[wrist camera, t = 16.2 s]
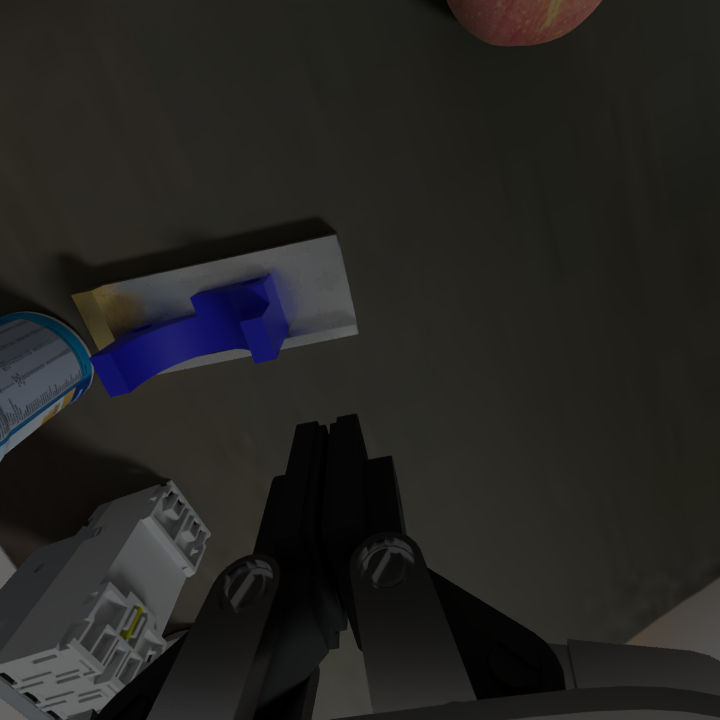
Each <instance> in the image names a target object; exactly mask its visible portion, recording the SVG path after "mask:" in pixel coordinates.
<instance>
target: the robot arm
mask: <svg viewBox="0 0 720 720" xmlns="http://www.w3.org/2000/svg"><path fill="white" fill-rule="evenodd" d="M348 619H349V622H350V625H351V628H352V631H353V634H354V637H355V640H356V643H357V646H358V648H359V649H360V650H361V651H362V652H363V657H364V663H365V669H366V675H367V681H368V687H369V693H370V699H371V706H372V712H373V714H368V715H361V716H353V717H346V718H339V719H331V720H720V661H719V660H717V659H715V658H713V657H711V656H709V655H706V654H701V653H698V652H694V651H689V650H679V649H668V648H658V647H646V646H636V645H626V644H615V643H605V642H594V641H584V640H573V639H567V645H561V644H551V643H546V642H545V641H544V640H542V639H541V638H540V637H539V636H537V635H536V634H535V633H534V632H532V631H530V630H529V629H527V628H525V627H524V626H522V625H521V624H519V623H517V622H516V621H514V620H512V619H511V618H509V617H507V616H506V615H504V614H503V613H501V612H499V611H498V610H496V609H494V608H493V607H491V606H489V605H488V604H486V603H485V602H483V601H481V600H480V599H478V598H476V597H475V596H473V595H471V594H470V593H468V592H467V591H465V590H463V589H462V588H460V587H458V586H457V585H455V584H453V583H452V582H450V581H449V580H447V579H445V578H444V577H442V576H440V575H439V574H437V573H435V572H434V571H432V570H431V569H429V568H427V566H426V563H425V560H424V558H423V555H422V552H421V550H420V548H419V547H418V545H417V543H416V542H415V541H413V540H412V539H411V538H410V537H409V536H407V534H406V528H405V521H404V515H403V508H402V502H401V497H400V491H399V486H398V481H397V476H396V472H395V467H394V463H393V458H392V456H386V457H381V458H375V459H370V460H368V456H367V451H366V447H365V443H364V439H363V435H362V431H361V427H360V423H359V419H358V416H357V414H351V415H346V416H341V417H337V422H336V423H332V424H330V433H329V434H328V430H327V427H326V425H321V426H319V424H318V422H317V421H314V422H309V423H304V424H298V425H297V426H296V430H295V435H294V439H293V443H292V448H291V452H290V457H289V461H288V465H287V470H286V474H285V475H281V476H276V477H275V478H274V479H273V481H272V484H271V488H270V491H269V495H268V499H267V503H266V506H265V510H264V514H263V518H262V521H261V525H260V529H259V533H258V537H257V540H256V544H255V548H254V552H253V554H252V555H247V556H245V557H242V558H240V559H238V560H236V561H235V562H233V563H232V564H230V565H229V566H227V567H226V568H225V569H224V570H223V571H222V572H221V573H220V574H219V576H218V577H217V579H216V580H215V582H214V583H213V585H212V587H211V589H210V591H209V593H208V595H207V597H206V599H205V601H204V603H203V605H202V607H201V609H200V611H199V613H198V615H197V617H196V619H195V621H194V623H193V625H192V627H191V629H190V630H183V631H180V632H176V633H174V634H172V635H169V636H167V637H166V638H164V640H165V641H166V642H167V646H166V648H165V651H164V653H163V654H161V655H160V656H159V657H158V658H157V659H156V660H155V661H153V659H154V657H155V655H156V653H155V654H153V655H152V657H151V660H150V662H152V661H153V662H152V663H151V664H150V665H149V666H148V667H147V668H145V669H144V670H143V671H142V672H141V673H140V674H139V675H137V676H136V677H135V678H134V679H133V680H132V681H131V682H130V683H128V684H127V685H126V686H125V687H124V688H123V689H122V690H120V691H119V692H118V693H117V694H116V695H115V696H114V697H113V698H112V699H111V700H110V701H109V702H108V703H107V704H106V705H105V706H104V707H103V709H102V710H101V711H100V713H97V712H96V711H95V710H94V709H90V710H88V711H85V712H83V713H80V714H78V715H75V716H73V717H70V718H68V719H65V720H312V715H313V710H314V705H315V700H316V695H317V689H318V684H319V676H320V668H319V663H320V662H321V661H322V660H323V659H324V657H325V656H326V655H327V654H328V653H329V650H330V649H337V648H339V635H340V631H344V630H346V629H347V623H348Z"/></svg>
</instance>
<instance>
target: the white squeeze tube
mask: <svg viewBox="0 0 720 720" xmlns="http://www.w3.org/2000/svg"><path fill="white" fill-rule="evenodd" d="M270 274H271V275H272V278H273V281H274V284H275V287H276V290H277V293H278V296H279V299H280V302H281V306H282V309H283V312H284V315H285V318H286V321H287V324H288V327H289V330H288V333H287V335H286V337H285V340H284V342H283V344H282V347H281V349H286V348H291V347H296V346H301V345H306V344H311V343H316V342H321V341H326V340H331V339H336V338H341V337H346V336H351V335H356V334H358V325H357V320H356V316H355V311H354V307H353V302H352V298H351V293H350V289H349V284H348V280H347V275H346V271H345V266H344V262H343V257H342V253H341V248H340V244H339V239H338V235H337V232H335V233H330V234H326V235H321V236H317V237H312V238H308V239H303V240H298V241H294V242H289V243H285V244H280V245H276V246H271V247H267V248H262V249H258V250H253V251H249V252H244V253H239V254H235V255H230V256H226V257H221V258H217V259H212V260H208V261H203V262H199V263H194V264H190V265H185V266H180V267H176V268H171V269H167V270H162V271H158V272H153V273H149V274H144V275H140V276H135V277H131V278H126V279H121V280H117V281H112V282H108V283H103V284H99V285H95V286H92V287H90V288H87V289H85V290H83V291H80V292H78V293H75V294H73V295H71V296H72V298H73V300H74V302H75V304H76V306H77V308H78V310H79V312H80V314H81V316H82V318H83V320H84V322H85V324H86V326H87V328H88V330H89V332H90V334H91V336H92V338H93V340H94V342H95V344H96V346H97V347H98V349H99V351H100V350H102V349H103V348H105V347H106V346H108V345H109V344H111V343H112V342H114V341H115V340H117V339H118V338H120V337H121V336H122V335H124V334H125V333H127V332H128V331H130V330H131V329H133V328H136V327H140V326H145V325H149V324H153V323H157V322H161V321H165V320H169V319H173V318H177V317H182V316H186V315H190V314H194V313H196V312H195V309H194V307H193V304H192V302H191V300H190V297H192V296H193V295H194V294H196V293H198V292H202V291H206V290H210V289H214V288H218V287H222V286H226V285H230V284H234V283H238V282H242V281H246V280H250V279H254V278H258V277H262V276H266V275H270ZM281 349H280V350H281ZM247 356H252V354H251V352H250V351H249V350H245V349H231V350H223V351H218V352H213V353H209V354H205V355H202V356H198V357H195V358H192V359H189V360H187V361H184V362H182V363H179V364H177V365H174V366H172V367H170V368H168V369H166V370H164V371H162V372H160V373H158V374H163V373H168V372H173V371H178V370H183V369H188V368H193V367H198V366H202V365H207V364H212V363H217V362H222V361H227V360H232V359H237V358H242V357H247ZM158 374H156V375H158Z"/></svg>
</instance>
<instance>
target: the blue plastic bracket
mask: <svg viewBox="0 0 720 720" xmlns="http://www.w3.org/2000/svg"><path fill="white" fill-rule="evenodd" d="M190 300H191V302H192V304H193V307H194V309H195V312H196V313H194V314H190V315H186V316H182V317H177V318H173V319H169V320H165V321H161V322H157V323H153V324H149V325H145V326H140V327H136V328H133V329H131V330H130V331H128V332H127V333H125V334H124V335H122V336H121V337H120V338H118V339H117V340H115V341H114V342H112V343H111V344H109V345H108V346H106V347H105V348H103V349H102V350H100V351H99V352H97V353H96V354H94V355H93V356H91V357H90V358H89V360H90V361H91V363H92V365H93V367H94V369H95V370H96V372H97V374H98V376H99V378H100V379H101V381H102V383H103V385H104V387H105V388H106V390H107V392H108V394H109V396H110V397H112V396H117V395H121V394H125V393H130V392H131V391H132V390H134V389H135V388H136V387H137V386H139V385H140V384H141V383H143V382H144V381H146V380H147V379H149V378H151V377H152V376H154V375H156V374H158V373H160V372H162V371H164V370H166V369H168V368H170V367H172V366H174V365H177V364H179V363H182V362H184V361H187V360H189V359H192V358H195V357H198V356H202V355H205V354H209V353H213V352H218V351H223V350H231V349H245V350H249V351H250V352H251V354H252V357H253V360H254V362H255V363H260V362H264V361H269V360H273V359H276V358H277V356H278V354H279V351H280V349H281V347H282V344H283V342H284V340H285V337H286V335H287V333H288V330H289V327H288V324H287V321H286V318H285V315H284V312H283V309H282V306H281V302H280V299H279V296H278V293H277V290H276V287H275V284H274V281H273V278H272V275H271V274H270V275H266V276H262V277H258V278H254V279H250V280H246V281H242V282H238V283H234V284H230V285H226V286H222V287H218V288H214V289H210V290H206V291H202V292H198V293H196V294H194V295H193V296H192V297H190Z"/></svg>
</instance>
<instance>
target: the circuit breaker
mask: <svg viewBox="0 0 720 720" xmlns="http://www.w3.org/2000/svg"><path fill="white" fill-rule="evenodd" d="M166 484H167V485H166V486H163V487H161V486H160V484H159V485H156V486H153V487H150V488H147V489H144V490H141V491H138V492H136V493H133V494H130V495H127V496H124V497H121V498H118V499H116V500H113V501H110V502H107V503H104V504H101V505H99V506H98V507H97V509H96V510H95V511H94V512H93V514H92V515H91V516H90V518H89V519H88V521H89V522H90V523H89V525H88V526H87V527H86V526H83V527H82V528H81V529H80V530H79V532H78V533H77V534H76V535H75V536H73V537H70V538H67V539H64V540H61V541H58V542H55V543H52V544H49V545H46V546H43V547H41V548H38V549H35V550H34V551H33V552H32V553H31V555H30V556H29V557H28V558H27V559H26V560H25V561H24V563H23V564H22V565H21V566H20V567H19V568H18V570H17V571H16V572H15V573H14V574H13V575H12V577H11V578H10V579H9V580H8V581H7V582H6V584H5V585H4V586H3V587H2V588H1V589H0V698H1V699H2V700H4V701H5V702H7V703H8V704H9V705H10V706H12V707H13V708H14V709H16V710H17V711H18V712H19V713H21V714H22V715H23V716H25V717H26V718H27V719H29V720H65V719H68V718H70V717H73V716H75V715H78V714H80V713H83V712H85V711H88V710H90V709H94V710H95V711H96V712H97V713H100V711H101V710H102V709H103V707H104V706H105V705H106V704H107V703H108V702H109V701H110V700H111V699H112V698H113V697H114V696H115V695H116V694H117V693H118V692H119V691H120V690H122V689H123V688H124V687H125V686H126V685H127V684H128V683H130V682H131V681H132V680H133V679H134V678H135V677H136V676H137V675H139V674H140V673H141V672H142V671H143V670H144V669H145V668H147V667H148V666H149V665H150V664H151V663H152V662H153V661H155V660H156V659H157V658H158V657H159V656H160V655H161V654H163V653H164V651H165V648H166V646H167V642H166V641H165V640H164V639H163V637H162V634H163V631H164V629H165V627H166V624H167V622H168V619H169V617H170V615H171V612H172V610H173V608H174V605H175V603H176V600H177V598H178V596H179V593H180V591H181V588H182V586H183V584H184V581H185V579H186V576H187V577H190V576H192V575H193V574H195V573H196V570H197V568H198V565H199V563H200V560H201V558H202V555H203V553H204V550H205V548H206V546H205V544H204V543H205V540H206V538H208V537H210V535H211V533H210V532H209V530H208V529H207V528H206V526H205V525H204V524H203V522H202V521H201V520H200V518H199V517H198V515H197V514H196V513H195V511H194V510H193V509H192V507H191V506H190V505H189V503H188V502H187V501H186V499H185V498H184V496H183V495H182V494H181V492H180V491H179V490H178V488H177V487H176V486H175V484H174V483H173V481H172V480H170V481H167V483H166ZM171 491H172V492H173V493H174V494H173V495H170V496H168V495H169V493H170V492H171ZM178 499H179V501H180V502H181V503H182V504H181V505H180V504H179V502H178ZM184 509H185V510H184ZM194 521H195V522H196V523H197V525H195V524H194V523H193V522H194ZM196 552H198V553H197V556H194V557H191V556H192V554H193V553H196ZM155 653H156V655H155V657H154V659H153V661H152V662H149V663H146V661H147V659H148V657H149V655H152V654H155Z"/></svg>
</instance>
